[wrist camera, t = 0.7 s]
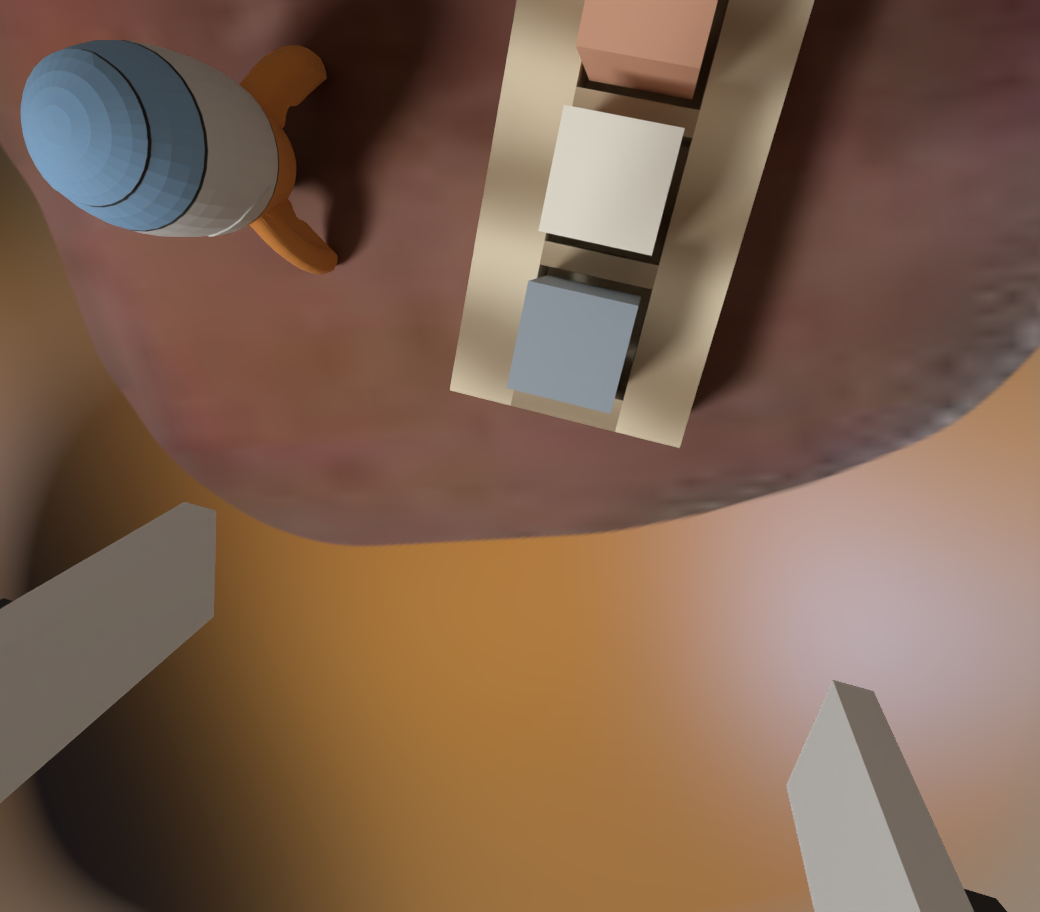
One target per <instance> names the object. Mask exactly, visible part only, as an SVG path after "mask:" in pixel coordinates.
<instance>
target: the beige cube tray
mask: <svg viewBox="0 0 1040 912" xmlns="http://www.w3.org/2000/svg"><path fill="white" fill-rule="evenodd" d="M584 2H585V0H517V3H516V9H515V14H514V20H513V26H512V32H511V38H510V43H509V49H508V55H507V61H506V67H505V72H504V78H503V84H502V90H501V96H500V102H499V107H498V113H497V119H496V125H495V131H494V136H493V142H492V148H491V154H490V160H489V165H488V171H487V177H486V183H485V189H484V194H483V200H482V206H481V212H480V218H479V223H478V229H477V235H476V241H475V247H474V253H473V258H472V264H471V270H470V276H469V282H468V287H467V293H466V299H465V305H464V311H463V316H462V322H461V328H460V334H459V340H458V345H457V351H456V357H455V363H454V369H453V374H452V380H451V386H450V390H451V391H455V392H459V393H463V394H467V395H471V396H475V397H479V398H483V399H487V400H491V401H495V402H499V403H503V404H507V405H511V406H515V407H519V408H522V409H526V410H530V411H534V412H538V413H542V414H546V415H550V416H554V417H558V418H562V419H566V420H570V421H574V422H578V423H582V424H586V425H590V426H594V427H598V428H602V429H606V430H610V431H614V432H618V433H622V434H626V435H630V436H634V437H638V438H642V439H646V440H650V441H654V442H658V443H662V444H666V445H670V446H674V447H678V448H680V445H681V441H682V438H683V435H684V431H685V428H686V425H687V422H688V418H689V415H690V412H691V408H692V405H693V402H694V398H695V395H696V392H697V388H698V385H699V382H700V378H701V375H702V372H703V368H704V365H705V362H706V359H707V355H708V352H709V349H710V345H711V342H712V339H713V335H714V332H715V329H716V325H717V322H718V319H719V315H720V312H721V309H722V305H723V302H724V299H725V296H726V292H727V289H728V286H729V282H730V279H731V276H732V272H733V269H734V266H735V262H736V259H737V256H738V252H739V249H740V246H741V242H742V239H743V236H744V233H745V229H746V226H747V223H748V219H749V216H750V213H751V209H752V206H753V203H754V199H755V196H756V193H757V189H758V186H759V183H760V179H761V176H762V173H763V170H764V166H765V163H766V160H767V156H768V153H769V150H770V146H771V143H772V140H773V136H774V133H775V130H776V126H777V123H778V120H779V116H780V113H781V110H782V107H783V103H784V100H785V97H786V93H787V90H788V87H789V83H790V80H791V77H792V73H793V70H794V67H795V63H796V60H797V57H798V53H799V50H800V47H801V44H802V40H803V37H804V34H805V30H806V27H807V24H808V20H809V17H810V14H811V10H812V7H813V4H814V0H718V2H717V6H716V10H715V14H714V17H713V21H712V25H711V29H710V33H709V37H708V41H707V44H706V48H705V52H704V56H703V60H702V64H701V68H700V71H699V75H698V79H697V83H696V87H695V91H694V94H693V98H692V100H691V99H686V98H680V97H675V96H670V95H664V94H659V93H654V92H649V91H643V90H638V89H633V88H628V87H622V86H617V85H612V84H606V83H601V82H596V81H591V80H589V78H588V76H587V73H586V70H585V68H584V65H583V63H582V60H581V58H580V55H579V53H578V50H577V48H576V42H577V37H578V32H579V27H580V22H581V17H582V12H583V7H584ZM564 105H568V106H573V107H579V108H584V109H589V110H594V111H599V112H604V113H609V114H614V115H620V116H625V117H630V118H635V119H640V120H645V121H650V122H655V123H661V124H666V125H671V126H676V127H681V128H685V129H684V133H683V137H682V141H681V145H680V148H679V152H678V156H677V160H676V164H675V168H674V172H673V175H672V179H671V183H670V187H669V191H668V195H667V199H666V202H665V206H664V210H663V214H662V218H661V222H660V225H659V229H658V233H657V237H656V241H655V245H654V249H653V252H652V256H651V255H646V254H642V253H637V252H632V251H628V250H623V249H619V248H614V247H610V246H605V245H600V244H596V243H591V242H587V241H582V240H577V239H573V238H568V237H564V236H559V235H555V234H550V233H545V232H541V231H538V230H539V225H540V220H541V215H542V210H543V205H544V200H545V196H546V191H547V186H548V181H549V176H550V171H551V166H552V161H553V156H554V151H555V146H556V141H557V136H558V131H559V126H560V121H561V116H562V111H563V106H564ZM547 275H550V276H554V277H559V278H563V279H568V280H572V281H577V282H581V283H585V284H590V285H594V286H599V287H603V288H608V289H612V290H616V291H621V292H625V293H630V294H634V295H639V296H641V299H640V302H639V306H638V310H637V314H636V318H635V322H634V326H633V329H632V333H631V337H630V341H629V345H628V349H627V353H626V356H625V360H624V364H623V368H622V372H621V376H620V380H619V383H618V387H617V391H616V395H615V399H614V403H613V407H612V410H611V414H609V413H605V412H601V411H597V410H593V409H589V408H585V407H581V406H577V405H573V404H569V403H565V402H561V401H557V400H553V399H549V398H544V397H540V396H536V395H532V394H528V393H524V392H520V391H516V390H512V389H508V388H507V384H508V379H509V374H510V369H511V364H512V359H513V354H514V349H515V344H516V339H517V334H518V329H519V324H520V319H521V314H522V310H523V305H524V300H525V295H526V290H527V285H528V281H529V280H533V279H536V278H540V277H543V276H547Z"/></svg>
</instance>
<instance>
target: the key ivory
mask: <svg viewBox="0 0 1040 912" xmlns="http://www.w3.org/2000/svg"><path fill="white" fill-rule="evenodd" d="M684 129H685V128H681V127H676V126H671V125H666V124H661V123H655V122H650V121H645V120H640V119H635V118H630V117H625V116H620V115H614V114H609V113H604V112H599V111H594V110H589V109H584V108H579V107H573V106H568V105H564V106H563V111H562V116H561V121H560V126H559V131H558V136H557V141H556V146H555V151H554V156H553V161H552V166H551V171H550V176H549V181H548V186H547V191H546V196H545V200H544V205H543V210H542V215H541V220H540V225H539V230H538V231H541V232H545V233H550V234H555V235H559V236H564V237H568V238H573V239H577V240H582V241H587V242H591V243H596V244H600V245H605V246H610V247H614V248H619V249H623V250H628V251H632V252H637V253H642V254H646V255H651V256H652V252H653V249H654V245H655V241H656V237H657V233H658V229H659V225H660V222H661V218H662V214H663V210H664V206H665V202H666V199H667V195H668V191H669V187H670V183H671V179H672V175H673V172H674V168H675V164H676V160H677V156H678V152H679V148H680V145H681V141H682V137H683V133H684Z"/></svg>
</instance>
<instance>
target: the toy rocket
mask: <svg viewBox="0 0 1040 912" xmlns="http://www.w3.org/2000/svg"><path fill="white" fill-rule="evenodd" d="M326 79H327V76H326V70H325V67H324V65H323V63H322V60H321V59H320V57H319V56H317V55H316V54H315V53H314V52H312V51H311V50H310V49H308V48H305V47H302V46H300V45H287V46H284V47H281V48H278V49H276V50H274V51H273V52H271V53H269V54H268V55H266V56H265V57H264V58H263V59H261V60H260V61H259V62H258V63H257V64H256V65H255V66H254V67H253V68H252V70H251V71H250V72H249V73H248V75H247V76H246V77H245V78H244V80H243V81H242V82H241V83H240V84H238V83H236V82H235V81H234V80H232V79H231V78H229V77H228V76H226V75H225V74H223V73H221V72H220V71H218V70H216V69H214V68H212V67H210V66H208V65H206V64H204V63H202V62H200V61H198V60H196V59H193V58H191V57H189V56H186V55H184V54H181V53H178V52H175V51H172V50H169V49H165V48H161V47H157V46H153V45H148V44H144V43H139V42H133V41H126V40H95V41H90V42H86V43H81V44H78V45H74V46H70V47H67V48H65V49H63V50H60V51H56V52H54V53H52V54H50V55H48V56H47V57H45V58H43V59H42V60H41V61H40V62H39V63H38V64H37V65H36V66H35V68H34V69H33V71H32V72H31V74H30V76H29V77H28V79H27V82H26V85H25V88H24V91H23V96H22V103H21V124H22V130H23V136H24V139H25V142H26V145H27V148H28V151H29V154H30V156H31V158H32V160H33V162H34V164H35V166H36V167H37V169H38V170H39V172H40V173H41V175H42V176H43V178H44V179H45V180H46V181H47V182H48V183H49V184H50V185H51V186H52V187H53V188H54V189H55V190H57V191H58V192H60V193H61V194H63V195H64V196H65V197H66V198H68V199H69V200H70V201H72V202H73V203H74V204H75V205H77V206H78V207H79V208H81V209H83V210H85V211H86V212H88V213H90V214H92V215H93V216H95V217H97V218H99V219H101V220H103V221H105V222H107V223H110V224H112V225H115V226H118V227H121V228H125V229H128V230H131V231H136V232H140V233H144V234H150V235H157V236H171V237H195V236H210V237H212V236H217V235H223V234H228V233H232V232H235V231H237V230H239V229H242V228H244V227H245V226H247V225H250V226H251V227H252V228H253V229H254V230H255V231H256V232H257V233H258V234H259V236H260V237H261V238H262V239H263V240H264V241H265V242H266V243H267V244H268V245H269V246H270V247H271V248H273V249H274V250H275V251H276V252H277V253H278V254H280V255H281V256H282V257H284V258H285V259H286V260H288V261H289V262H290V263H292V264H294V265H295V266H297V267H299V268H300V269H302V270H305V271H308V272H310V273H313V274H325V273H328V272H331V271H333V270H334V268H335V266H336V265H337V262H338V255H337V254H336V253H335V252H334V251H333V250H332V249H331V248H330V247H329V246H328V245H327V244H326V243H325V242H324V241H323V240H322V239H321V238H320V237H319V236H318V235H317V234H316V233H315V232H314V231H313V230H312V229H311V228H310V226H309V225H308V224H307V223H305V222H304V221H302V220H299V219H298V218H297V217H296V215H295V213H294V210H293V207H292V204H291V202H290V201H289V200H288V197H289V195H290V193H291V191H292V190H293V187H294V183H295V179H296V159H295V155H294V151H293V148H292V146H291V143H290V141H289V139H288V137H287V136H286V134H285V132H284V131H283V127H284V126H285V120H286V114H287V111H288V108H289V107H290V106H297V105H299V104H300V103H301V102H302V101H303V100H304V99H305V98H306V97H307V96H308V95H309V94H310V93H311V92H312V91H313V90H314V89H315V88H317V87H318V86H319V85H320V84H321V83H322V82H323V81H325V80H326Z"/></svg>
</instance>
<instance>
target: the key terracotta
mask: <svg viewBox="0 0 1040 912" xmlns="http://www.w3.org/2000/svg"><path fill="white" fill-rule="evenodd" d="M717 2H718V0H585V2H584V7H583V12H582V17H581V22H580V27H579V32H578V37H577V42H576V48H577V50H578V53H579V55H580V58H581V60H582V63H583V65H584V68H585V70H586V73H587V76H588V78H589V80H591V81H596V82H601V83H606V84H612V85H617V86H622V87H628V88H633V89H638V90H643V91H649V92H654V93H659V94H664V95H670V96H675V97H680V98H686V99H691V100H692V98H693V94H694V91H695V87H696V83H697V79H698V75H699V71H700V68H701V64H702V60H703V56H704V52H705V48H706V44H707V41H708V37H709V33H710V29H711V25H712V21H713V17H714V14H715V10H716V6H717Z"/></svg>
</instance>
